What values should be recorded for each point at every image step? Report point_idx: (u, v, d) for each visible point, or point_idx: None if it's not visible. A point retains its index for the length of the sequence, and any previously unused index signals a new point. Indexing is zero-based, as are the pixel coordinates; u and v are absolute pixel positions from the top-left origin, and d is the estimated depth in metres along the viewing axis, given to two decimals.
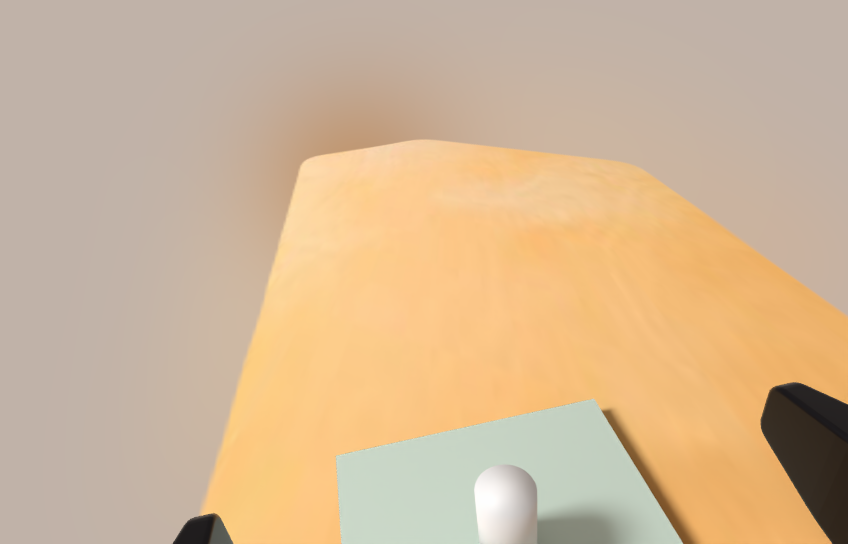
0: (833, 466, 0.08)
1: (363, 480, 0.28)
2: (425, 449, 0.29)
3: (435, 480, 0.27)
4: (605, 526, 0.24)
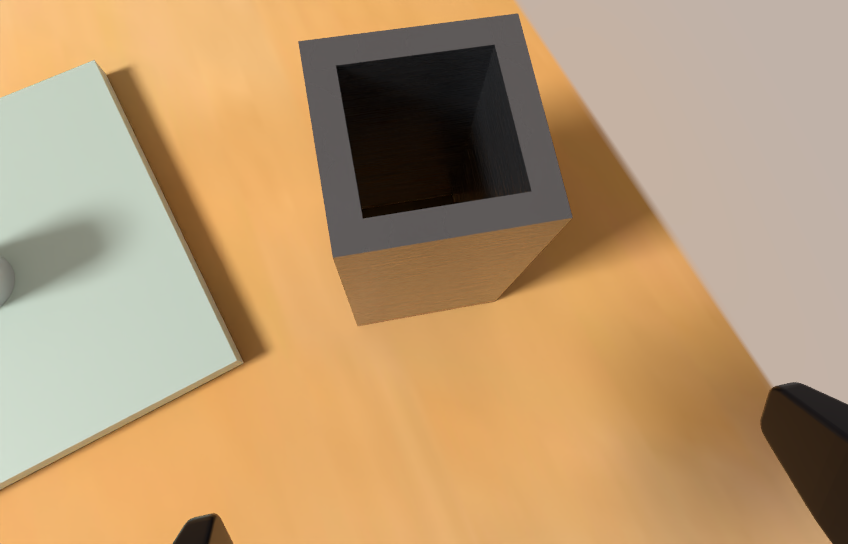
0: (833, 466, 0.08)
1: None
2: None
3: None
4: (94, 232, 0.22)
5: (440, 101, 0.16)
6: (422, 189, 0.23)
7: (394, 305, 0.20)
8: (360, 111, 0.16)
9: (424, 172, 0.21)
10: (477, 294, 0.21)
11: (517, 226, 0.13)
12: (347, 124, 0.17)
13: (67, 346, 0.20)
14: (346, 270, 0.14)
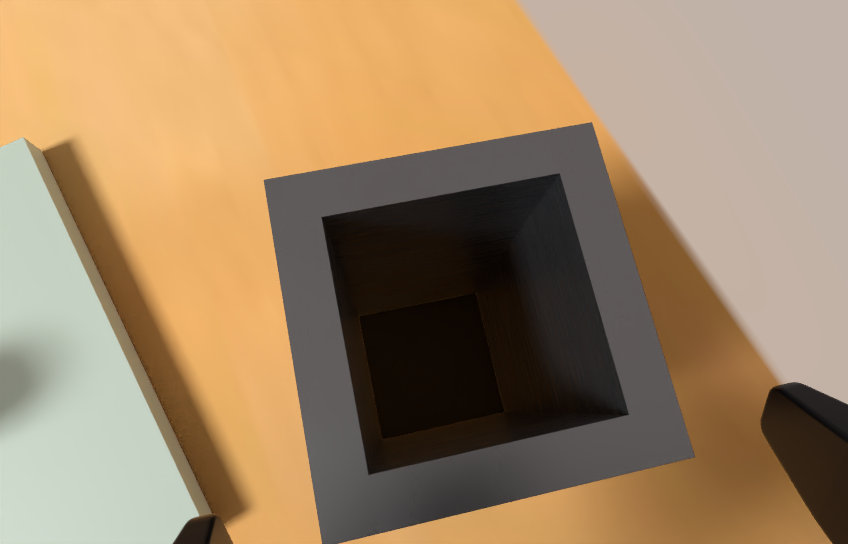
0: (833, 466, 0.08)
1: None
2: None
3: None
4: (23, 365, 0.17)
5: (472, 229, 0.12)
6: (439, 294, 0.18)
7: None
8: (359, 250, 0.11)
9: (443, 283, 0.16)
10: None
11: (610, 476, 0.08)
12: (342, 262, 0.12)
13: None
14: None
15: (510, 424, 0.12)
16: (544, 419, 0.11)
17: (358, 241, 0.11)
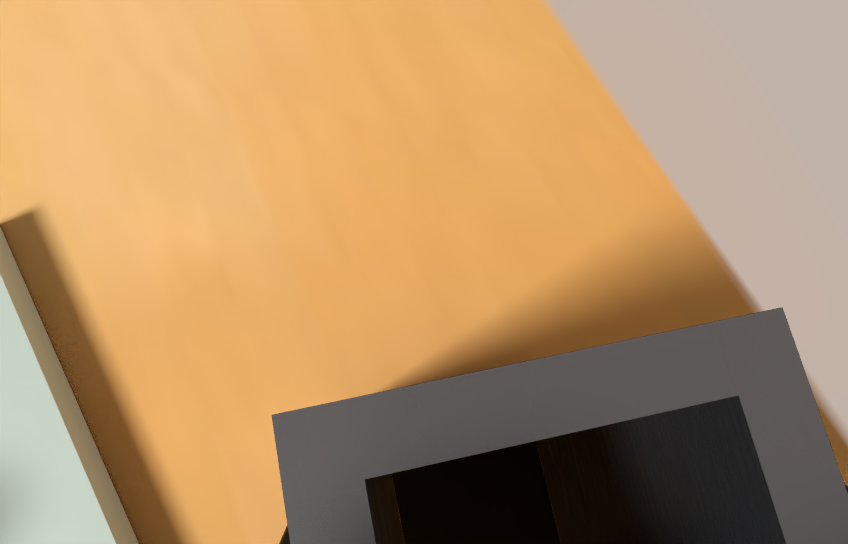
0: None
1: None
2: None
3: None
4: None
5: None
6: None
7: None
8: None
9: None
10: None
11: None
12: None
13: None
14: None
15: None
16: None
17: None
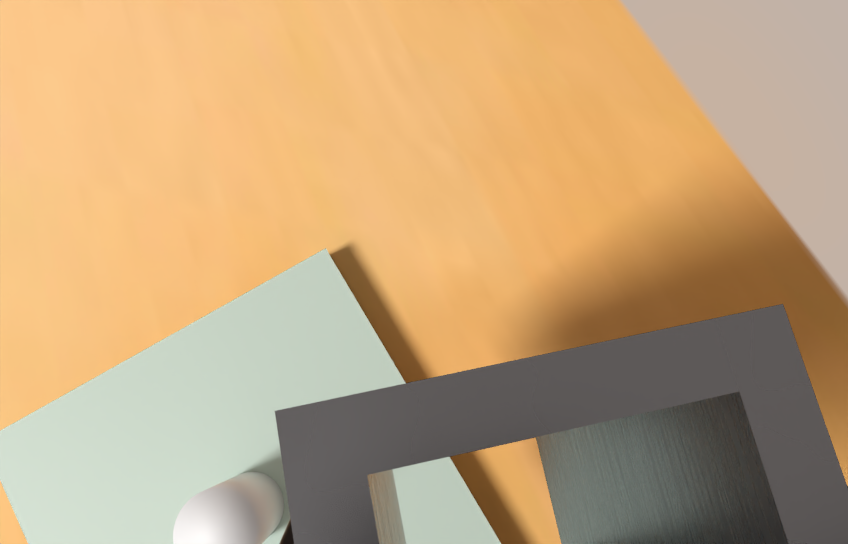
0: None
1: (38, 467, 0.20)
2: (112, 393, 0.21)
3: (138, 438, 0.21)
4: None
5: None
6: None
7: None
8: None
9: None
10: None
11: None
12: None
13: None
14: None
15: None
16: None
17: None
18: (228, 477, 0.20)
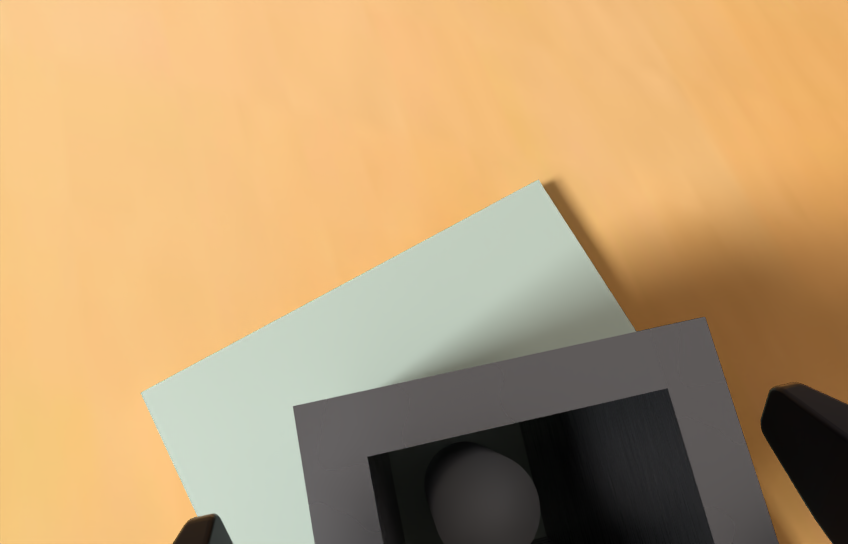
0: (833, 466, 0.08)
1: (208, 427, 0.17)
2: (293, 341, 0.17)
3: (327, 396, 0.17)
4: None
5: None
6: None
7: None
8: None
9: None
10: None
11: None
12: None
13: None
14: None
15: None
16: None
17: None
18: (437, 447, 0.17)
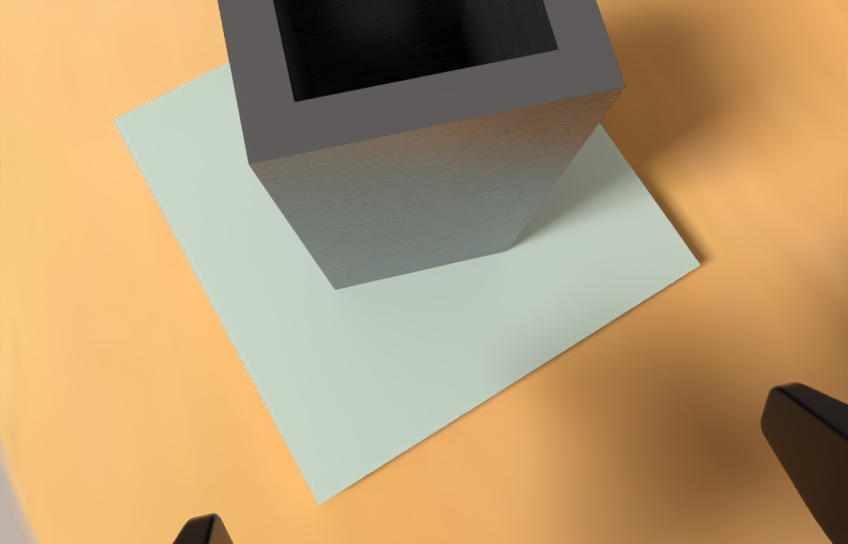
0: (833, 466, 0.08)
1: (173, 147, 0.19)
2: None
3: None
4: None
5: None
6: None
7: (375, 257, 0.15)
8: None
9: None
10: (483, 240, 0.16)
11: (539, 103, 0.08)
12: None
13: (513, 256, 0.18)
14: (283, 192, 0.09)
15: None
16: None
17: None
18: None
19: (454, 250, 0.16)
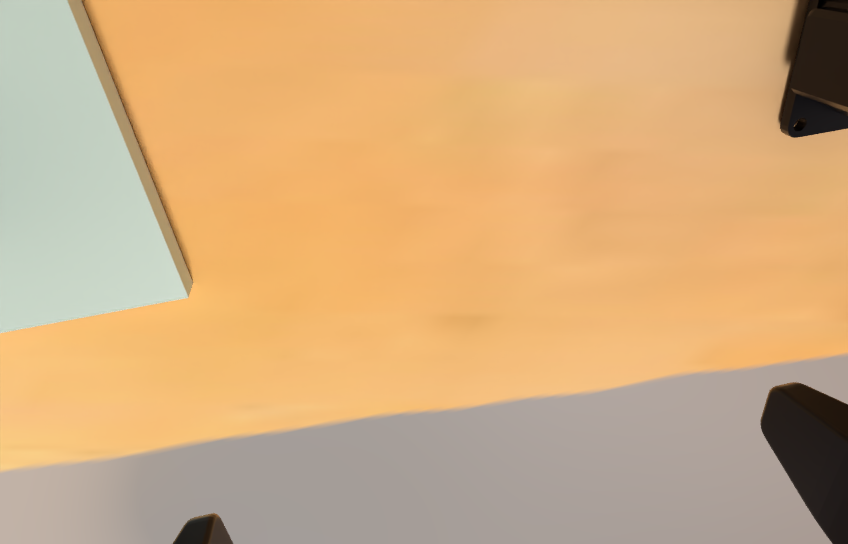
0: (833, 466, 0.08)
1: None
2: None
3: None
4: None
5: None
6: None
7: None
8: None
9: None
10: None
11: None
12: None
13: None
14: None
15: None
16: None
17: None
18: None
19: None
